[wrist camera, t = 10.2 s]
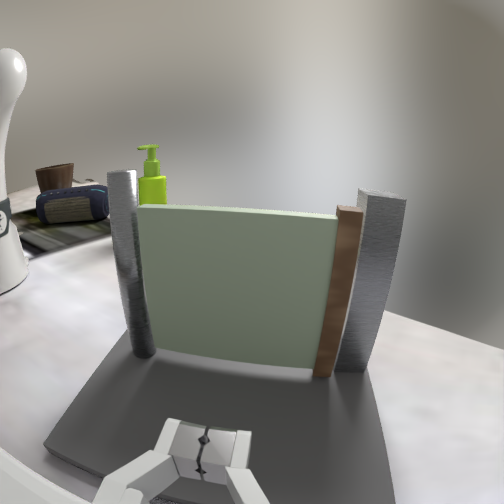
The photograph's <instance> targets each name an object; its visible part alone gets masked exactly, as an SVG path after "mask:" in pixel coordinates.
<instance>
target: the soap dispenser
mask: <svg viewBox="0 0 504 504" xmlns="http://www.w3.org/2000/svg"><path fill="white" fill-rule="evenodd" d="M156 148H159V145H143V146H140V147H138V148H137V149H138V150H146V149H148V159H147V160H146V161H144V177H141V178H139V179H138V183H139V204H140V206H141V205H143V204H163V205H167V197H166V177H165V176H161V175H160V161H159V160H158V159H156Z"/></svg>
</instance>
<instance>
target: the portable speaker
mask: <svg viewBox="0 0 504 504" xmlns="http://www.w3.org/2000/svg"><path fill="white" fill-rule="evenodd" d="M36 211H37V215H38V218H39V219H40V221H41V222H43V223H46V224H52V223H64V222H76V221H88V220H100V219H103V218H105V217H107V216H108V215H109V213H110V212H109V200H108V187H106V186H102V185H90V186H80V187H71V188H63V189H55V190H48V191H45V192H43V193H41V194H40V195H38V197H37V199H36Z"/></svg>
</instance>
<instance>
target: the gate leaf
mask: <svg viewBox="0 0 504 504" xmlns="http://www.w3.org/2000/svg"><path fill="white" fill-rule="evenodd" d="M363 213H364V212H363V211H362V210H361V209H360V208H359V207H351V206H342V205H337V211H336V215H327V214H316V213H315V214H314V213H302V212H291V211H278V210H264V209H248V208H231V207H213V206H191V205H190V206H189V205H163V204H143V205H141V206H139V207H137V216H138V229H139V240H140V250H141V260H142V268H143V276H144V284H145V291H146V298H147V305H148V311H149V317H150V323H151V329H152V335H153V340H154V345H155V348H159V349H164V350H169V351H174V352H180V353H185V354H191V355H197V356H203V357H209V358H215V359H222V360H229V361H236V362H244V363H252V364H261V365H270V366H280V367H292V368H305V369H313V376H316V377H331V374H332V370H333V367H334V363H335V359H336V355H337V351H338V347H339V343H340V339H341V335H342V331H343V326H344V322H345V317H346V313H347V308H348V303H349V298H350V293H351V288H352V283H353V278H354V272H355V267H356V261H357V255H358V248H359V242H360V235H361V228H362V221H363Z"/></svg>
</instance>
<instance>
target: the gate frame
mask: <svg viewBox="0 0 504 504" xmlns="http://www.w3.org/2000/svg"><path fill="white" fill-rule="evenodd" d="M107 183H108V184H107V185H108V200H109V212H110V223H111V232H112V241H113V249H114V256H115V263H116V270H117V276H118V282H119V288H120V294H121V299H122V304H123V309H124V314H125V319H126V324H127V328H128V329H127V330H126V331H125V332H124V334H123V335H122V336H121V338H120V339H119V340H118V341H117V343H116V344H115V345H114V347H113V348H112V349H111V351H110V352H109V353H108V354H107V356H106V357H105V358H104V360H103V361H102V362H101V364H100V365H99V366H98V368H97V369H96V370H95V372H94V373H93V374H92V376H91V377H90V378H89V380H88V381H87V382H86V384H85V385H84V387H83V388H82V389H81V391H80V392H79V393H78V395H77V396H76V398H75V399H74V400H73V402H72V403H71V405H70V406H69V407H68V409H67V410H66V412H65V413H64V414H63V416H62V417H61V419H60V420H59V422H58V423H57V424H56V426H55V427H54V429H53V430H52V432H51V433H50V435H49V436H48V438H47V439H46V441H45V442H44V444H43V445H44V446H45V447H46V448H47V450H48V451H49V452H50V453H52V454H54V455H56V456H57V457H59V458H61V459H63V460H65V461H67V462H69V463H71V464H73V465H75V466H77V467H79V468H81V469H83V470H85V471H88V472H90V473H92V474H94V475H97V476H99V477H101V478H104V477H106V476H107V475H109V474H111V473H113V472H114V471H116V470H118V469H119V468H121V467H123V466H125V465H126V464H128V463H130V462H131V461H133V460H135V459H136V458H138V457H139V456H141V455H143V454H144V453H146V452H147V451H149V450H152V451H154V448H155V446H156V443H157V441H158V439H159V436H160V434H161V431H162V429H163V427H164V424H165V422H166V420H167V419H168V418H172V419H177V420H182V421H185V422H190V423H195V424H201V425H206V426H208V428H210V427H211V426H213V427H221V428H228V429H237V430H243V431H252V436H251V448H250V458H249V464H248V469H250V471H251V472H252V474H253V476H254V478H255V479H256V481H257V483H258V485H259V486H260V488H261V490H262V491H263V493H264V495H265V496H266V498H267V500H268V501H269V503H270V504H395V497H394V490H393V484H392V478H391V472H390V467H389V461H388V456H387V451H386V446H385V441H384V436H383V432H382V427H381V423H380V418H379V414H378V409H377V405H376V401H375V397H374V393H373V389H372V385H371V381H370V377H369V373H368V370H367V364H368V361H369V358H370V355H371V352H372V349H373V346H374V342H375V339H376V336H377V333H378V329H379V326H380V322H381V319H382V315H383V312H384V308H385V304H386V300H387V296H388V293H389V288H390V284H391V280H392V276H393V271H394V267H395V262H396V257H397V252H398V247H399V242H400V237H401V231H402V225H403V218H404V213H405V206H406V199H404V198H402V197H400V196H398V195H397V194H394V193H392V192H384V191H377V190H368V189H360V188H359V189H358V198H357V207H359V208H360V209H361V210H362V211H363V212H364V213H363V221H362V228H361V235H360V242H359V248H358V255H357V261H356V267H355V272H354V278H353V283H352V288H351V293H350V298H349V303H348V308H347V313H346V317H345V322H344V326H343V331H342V335H341V339H340V343H339V347H338V351H337V355H336V359H335V363H334V367H333V370H332V374H331V377H316V376H313V369H305V368H292V367H280V366H270V365H261V364H252V363H244V362H236V361H229V360H222V359H215V358H209V357H203V356H197V355H191V354H185V353H180V352H174V351H169V350H164V349H159V348H155V345H154V340H153V335H152V329H151V323H150V317H149V311H148V305H147V298H146V291H145V284H144V276H143V268H142V260H141V250H140V240H139V229H138V216H137V207H138V189H137V170H136V169H129V170H117V171H111V172H107ZM203 473H204V472H203ZM156 497H158V498H161V499H165V500H169V501H172V502H176V503H180V504H235V502H234V500H233V498H232V496H231V494H230V492H229V490H228V488H227V485H224V484H218V483H213V482H208V481H205V480H204V476H202V479H201V480H197V479H192V478H187V477H182V476H179V478H178V479H177V480H176V481H174V482H173V483H172V484H171V485H170V486H168V487H167V488H166V489H165V490H163V491H162V492H161V493H160V494H158V495H157V496H156Z"/></svg>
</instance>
